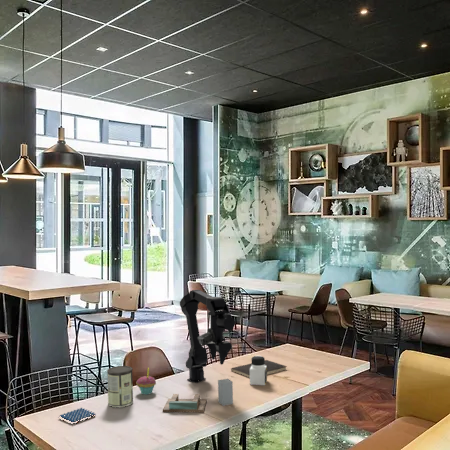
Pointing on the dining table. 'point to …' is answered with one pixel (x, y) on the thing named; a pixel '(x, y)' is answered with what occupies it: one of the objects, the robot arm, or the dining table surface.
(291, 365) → the dining table surface
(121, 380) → the coffee can
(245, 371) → the hardcover book
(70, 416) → the woven mat
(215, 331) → the robot arm
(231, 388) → the block
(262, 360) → the medicine bottle
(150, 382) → the cupcake
